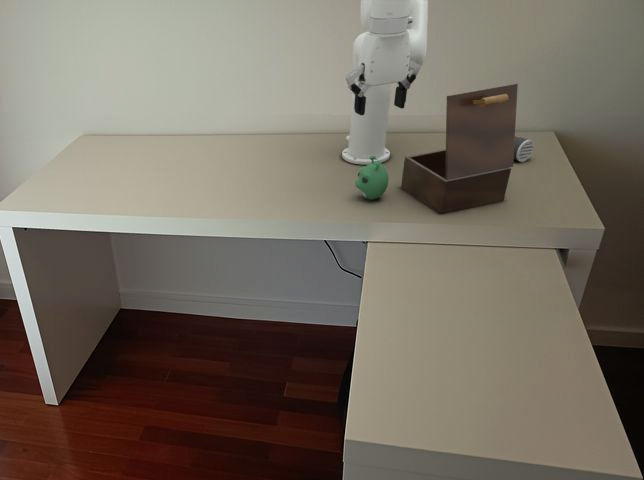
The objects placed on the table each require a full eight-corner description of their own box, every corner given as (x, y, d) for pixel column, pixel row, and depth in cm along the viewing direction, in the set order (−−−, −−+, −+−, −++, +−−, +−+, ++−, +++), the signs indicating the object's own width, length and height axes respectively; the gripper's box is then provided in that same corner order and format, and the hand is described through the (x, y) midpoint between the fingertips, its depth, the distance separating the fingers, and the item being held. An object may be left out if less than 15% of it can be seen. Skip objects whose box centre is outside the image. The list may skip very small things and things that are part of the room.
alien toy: (349, 194, 159) (353, 154, 153) (380, 190, 159) (385, 151, 153) (358, 206, 153) (362, 165, 147) (390, 202, 153) (395, 162, 147)
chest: (400, 187, 160) (404, 156, 155) (459, 175, 162) (465, 145, 158) (440, 214, 147) (445, 181, 142) (503, 200, 149) (511, 168, 145)
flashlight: (470, 147, 176) (473, 127, 173) (485, 142, 178) (489, 122, 175) (515, 163, 165) (520, 143, 162) (531, 159, 167) (536, 138, 163)
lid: (446, 95, 135) (461, 95, 131) (515, 83, 138) (532, 82, 133) (445, 179, 142) (459, 182, 137) (510, 166, 145) (526, 168, 140)
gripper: (415, 17, 137) (405, 100, 148) (341, 28, 134) (335, 112, 145) (436, 22, 131) (423, 108, 142) (359, 34, 128) (352, 121, 139)
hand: (379, 110), depth 143 cm, fingers open, 9 cm apart
